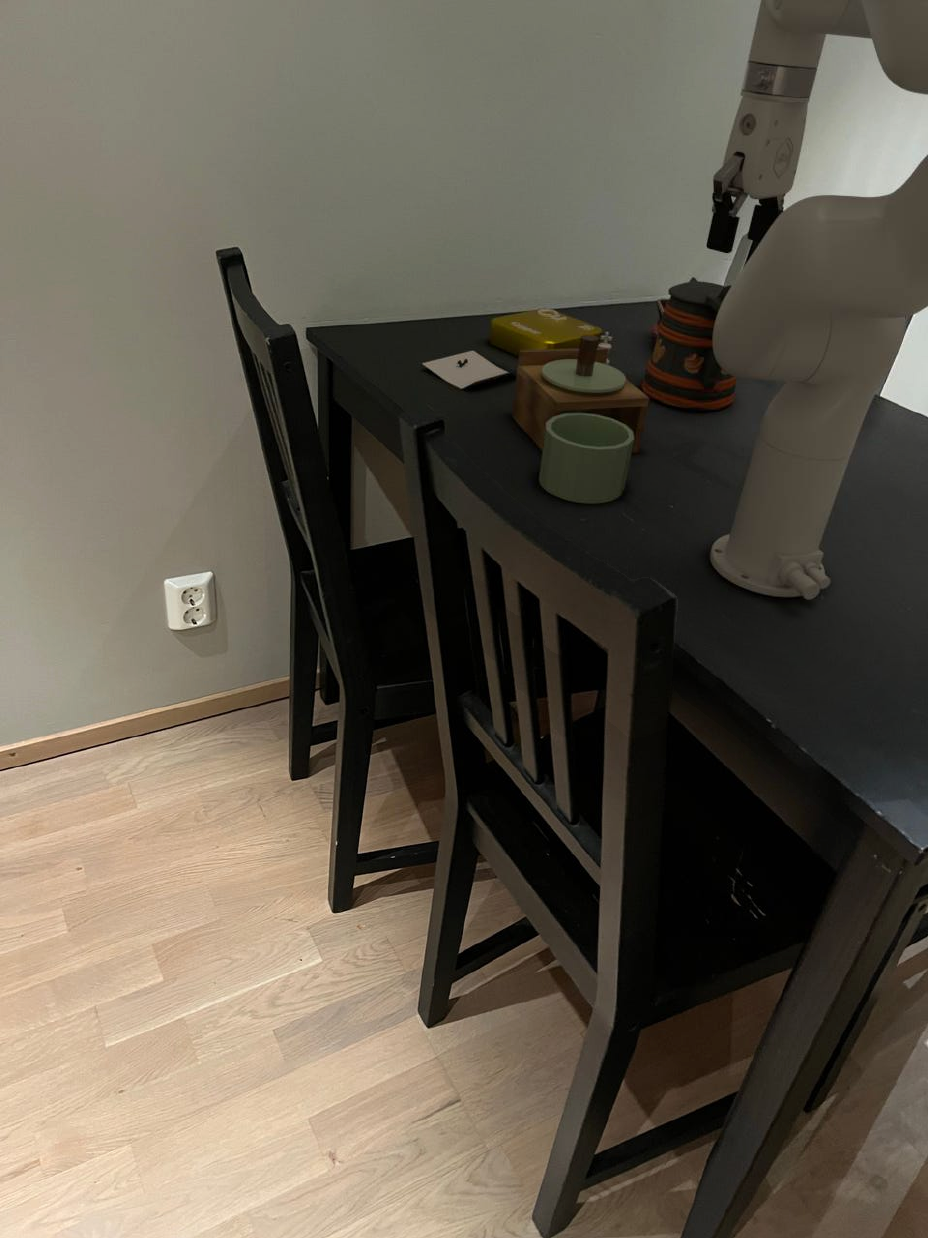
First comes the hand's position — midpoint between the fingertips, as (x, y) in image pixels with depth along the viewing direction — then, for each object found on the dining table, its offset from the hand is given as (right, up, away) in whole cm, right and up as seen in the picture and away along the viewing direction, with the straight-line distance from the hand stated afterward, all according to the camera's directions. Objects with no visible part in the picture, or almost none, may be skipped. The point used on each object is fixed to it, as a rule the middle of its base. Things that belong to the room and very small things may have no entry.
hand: (739, 245), depth 111 cm
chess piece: (-12, -10, +34) cm, 37 cm away
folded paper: (-32, -6, +37) cm, 49 cm away
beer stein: (+3, -11, +35) cm, 37 cm away
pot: (-18, -28, +7) cm, 34 cm away
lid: (-17, -12, +15) cm, 26 cm away
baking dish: (+8, +3, +56) cm, 56 cm away
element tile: (-19, +2, +51) cm, 54 cm away
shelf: (-18, -19, +20) cm, 33 cm away
